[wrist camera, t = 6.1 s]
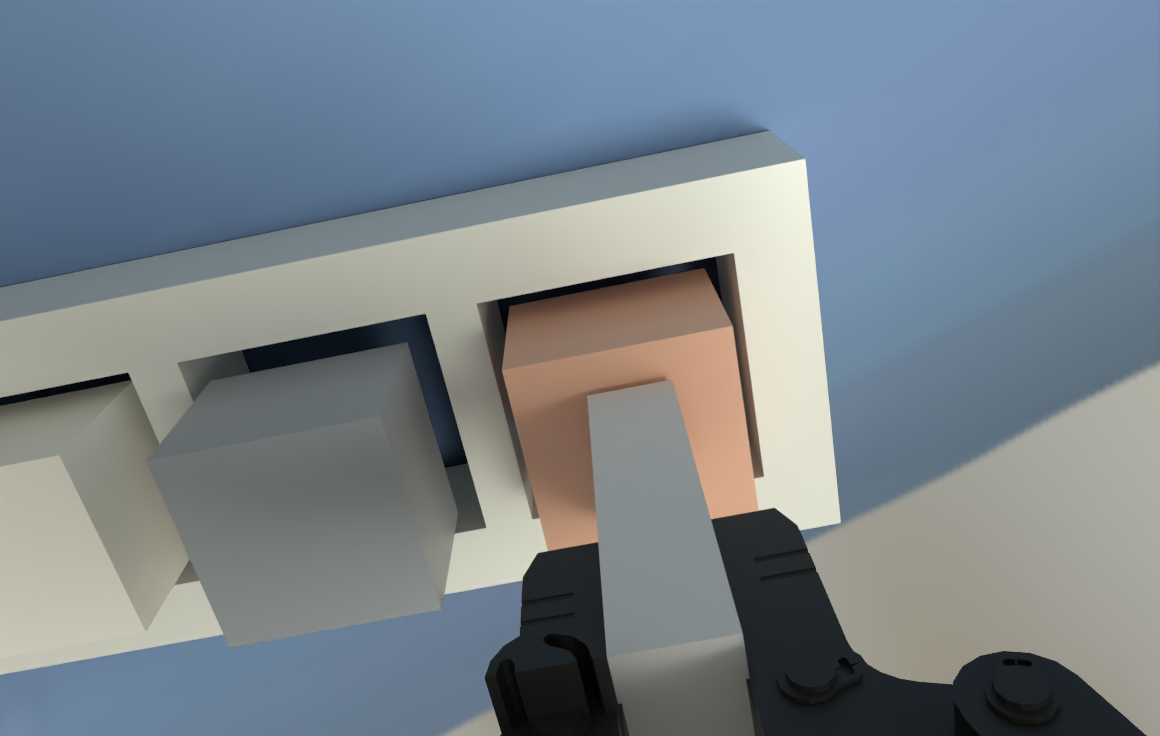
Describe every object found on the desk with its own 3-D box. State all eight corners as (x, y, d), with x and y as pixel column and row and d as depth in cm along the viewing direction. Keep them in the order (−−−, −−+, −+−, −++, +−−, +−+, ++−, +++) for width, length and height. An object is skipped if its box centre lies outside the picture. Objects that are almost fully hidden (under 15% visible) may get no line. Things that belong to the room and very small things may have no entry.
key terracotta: (550, 473, 20) (549, 559, 18) (509, 306, 19) (501, 370, 16) (729, 439, 20) (760, 521, 17) (704, 267, 19) (733, 326, 16)
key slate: (276, 546, 20) (229, 648, 17) (210, 380, 18) (145, 461, 15) (458, 513, 20) (442, 609, 17) (407, 342, 18) (379, 416, 15)
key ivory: (34, 569, 21) (-50, 667, 18) (-48, 415, 20) (-154, 496, 17) (202, 537, 21) (146, 632, 18) (133, 379, 19) (59, 455, 16)
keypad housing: (34, 597, 24) (-33, 680, 21) (-121, 312, 21) (-223, 366, 18) (806, 454, 23) (841, 522, 20) (769, 130, 20) (805, 158, 17)
